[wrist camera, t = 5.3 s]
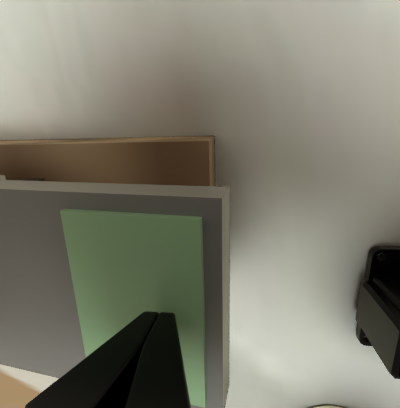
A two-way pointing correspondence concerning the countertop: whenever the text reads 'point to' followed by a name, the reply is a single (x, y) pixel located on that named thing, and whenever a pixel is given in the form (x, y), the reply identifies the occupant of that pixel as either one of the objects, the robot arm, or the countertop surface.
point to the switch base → (112, 160)
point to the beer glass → (327, 407)
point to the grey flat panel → (114, 273)
